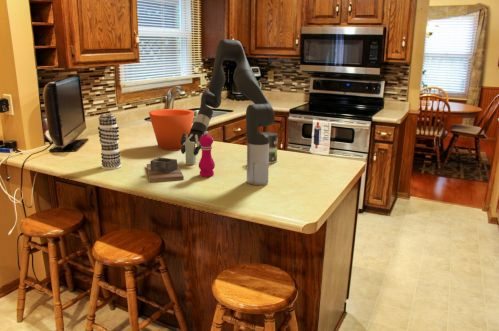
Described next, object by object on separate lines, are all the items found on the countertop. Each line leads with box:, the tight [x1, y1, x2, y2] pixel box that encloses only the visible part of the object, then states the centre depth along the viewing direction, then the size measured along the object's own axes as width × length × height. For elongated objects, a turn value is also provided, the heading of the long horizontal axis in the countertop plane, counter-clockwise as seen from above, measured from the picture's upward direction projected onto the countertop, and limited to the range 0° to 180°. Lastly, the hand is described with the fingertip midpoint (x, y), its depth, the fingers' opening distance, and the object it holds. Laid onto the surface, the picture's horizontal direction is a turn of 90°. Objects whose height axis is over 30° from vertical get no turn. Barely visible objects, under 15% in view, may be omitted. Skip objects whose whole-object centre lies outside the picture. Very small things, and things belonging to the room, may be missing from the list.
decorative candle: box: [97, 113, 122, 170], centre depth 196 cm, size 9×9×25 cm
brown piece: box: [146, 157, 185, 183], centre depth 190 cm, size 14×24×6 cm, turn 17°
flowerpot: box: [148, 108, 195, 151], centre depth 237 cm, size 25×25×20 cm
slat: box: [184, 141, 197, 166], centre depth 204 cm, size 4×2×11 cm, turn 67°
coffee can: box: [259, 131, 279, 165], centre depth 211 cm, size 10×10×14 cm
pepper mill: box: [198, 130, 216, 178], centre depth 186 cm, size 7×7×20 cm
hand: (188, 153), depth 203 cm, fingers open, 6 cm apart
